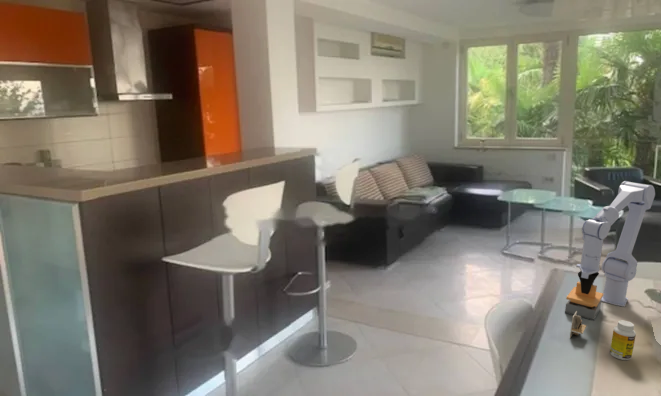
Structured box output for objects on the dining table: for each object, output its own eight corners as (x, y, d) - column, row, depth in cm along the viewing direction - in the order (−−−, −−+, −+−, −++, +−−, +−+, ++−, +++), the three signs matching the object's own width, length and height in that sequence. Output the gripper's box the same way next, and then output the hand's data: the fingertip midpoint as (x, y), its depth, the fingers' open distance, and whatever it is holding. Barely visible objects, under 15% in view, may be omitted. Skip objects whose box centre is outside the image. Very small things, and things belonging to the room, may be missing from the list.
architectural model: (584, 336, 156) (588, 314, 155) (580, 344, 151) (584, 321, 149) (573, 332, 158) (576, 310, 157) (568, 341, 153) (571, 318, 151)
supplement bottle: (625, 363, 140) (631, 329, 138) (605, 354, 145) (611, 321, 143) (635, 357, 143) (641, 324, 141) (615, 349, 148) (621, 317, 146)
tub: (572, 302, 181) (573, 293, 181) (600, 309, 176) (601, 300, 175) (564, 312, 172) (566, 303, 171) (593, 320, 167) (595, 310, 166)
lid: (573, 291, 181) (575, 276, 180) (602, 298, 175) (605, 282, 174) (565, 301, 171) (568, 285, 170) (596, 309, 166) (598, 293, 164)
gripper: (582, 247, 178) (577, 283, 181) (573, 257, 166) (568, 295, 169) (605, 251, 174) (599, 288, 176) (597, 262, 162) (591, 301, 165)
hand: (585, 292), depth 173 cm, fingers closed on lid
